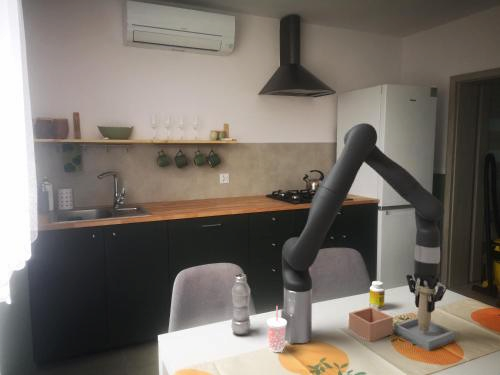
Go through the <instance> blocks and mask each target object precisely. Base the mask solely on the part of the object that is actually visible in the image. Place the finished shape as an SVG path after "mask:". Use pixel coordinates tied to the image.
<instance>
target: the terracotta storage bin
mask: <svg viewBox="0 0 500 375" xmlns="http://www.w3.org/2000/svg"><path fill="white" fill-rule="evenodd" d="M393 327H394V316H392V315H390V314H388V313H385V312H383V311H382V310H377V309H375V308H373V307H370V306H369V307H365V308H361V309H358V310H354V311H351V312H349V313H348V330H349V329H350V330H351V332H352V331H353V332H352V333H354V334H355V333H356V334H355V335H357V334H358V335H357V336H359V337H360V336H361V338H362V337H363V338H362V339H364V338H365V339H366V341H367V342H368V343H371V342H374V341H377V340H380V339H383V338H385V336H386V337H388V335H389V336H391V335H393V334H394V333H393V332H394V331H393V329H394V328H393ZM350 330H349V331H350ZM382 337H383V338H382ZM365 339H364V340H365ZM373 340H374V341H373ZM370 341H371V342H370Z"/></svg>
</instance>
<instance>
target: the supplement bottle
mask: <svg viewBox="0 0 500 375" xmlns="http://www.w3.org/2000/svg"><path fill="white" fill-rule="evenodd" d="M385 290H386V289H385V287H384V283H383V282H382V281H379V280H373V281H372V282H371V286H370V287H369V300H368V301H369V304H368V305H369V307H373V308H375V309H377V310H379V311H382V310H383V309H385V296H386V295H385V294H386V293H385V292H386V291H385Z"/></svg>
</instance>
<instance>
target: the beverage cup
mask: <svg viewBox="0 0 500 375" xmlns="http://www.w3.org/2000/svg"><path fill="white" fill-rule="evenodd" d="M278 307H279V306H278V305H276V306H275V308H276V310H275V311H276V313H275V314H276V315H275V317H271V318H269V319H267V320H266V323H267V327H268V344H269V351H270V350H271V351H275V352H279V351H282V350H283V349H284V350H285V344H286V342H285V341H286V340H285V330H286V326H287V321H286V320H285V319H283V318H281V317H279V308H278ZM271 351H270V352H271Z"/></svg>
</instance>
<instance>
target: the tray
mask: <svg viewBox="0 0 500 375" xmlns="http://www.w3.org/2000/svg"><path fill="white" fill-rule="evenodd" d="M418 325H419V324H418V316H417V317H414V318H411V319H408V320H405V321H401V322H398V323H395V324H393V327H394V328H393V329H394V331H393V332H394V333H393V334H395V335H397V336H399V337H401V338H403V339H404V340H407V341H408V342H411V343H412V344H413V345H414V344H415V345H416V346H418V347H420V348H421V349H423V350H426V351H427V352H429V351H432V350H435V349H437V348H441V347H443V346H445V345H448V344H449V343H453V342H455V340H456V338H455V336H456V332H455V331H454V330H452V329H450V328H447V327H444V326H443V325H440V324H439V323H436V322H434V321H430V326H429V331H428V332H427V331H426V332H424V331H420V330H419V326H418Z"/></svg>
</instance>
